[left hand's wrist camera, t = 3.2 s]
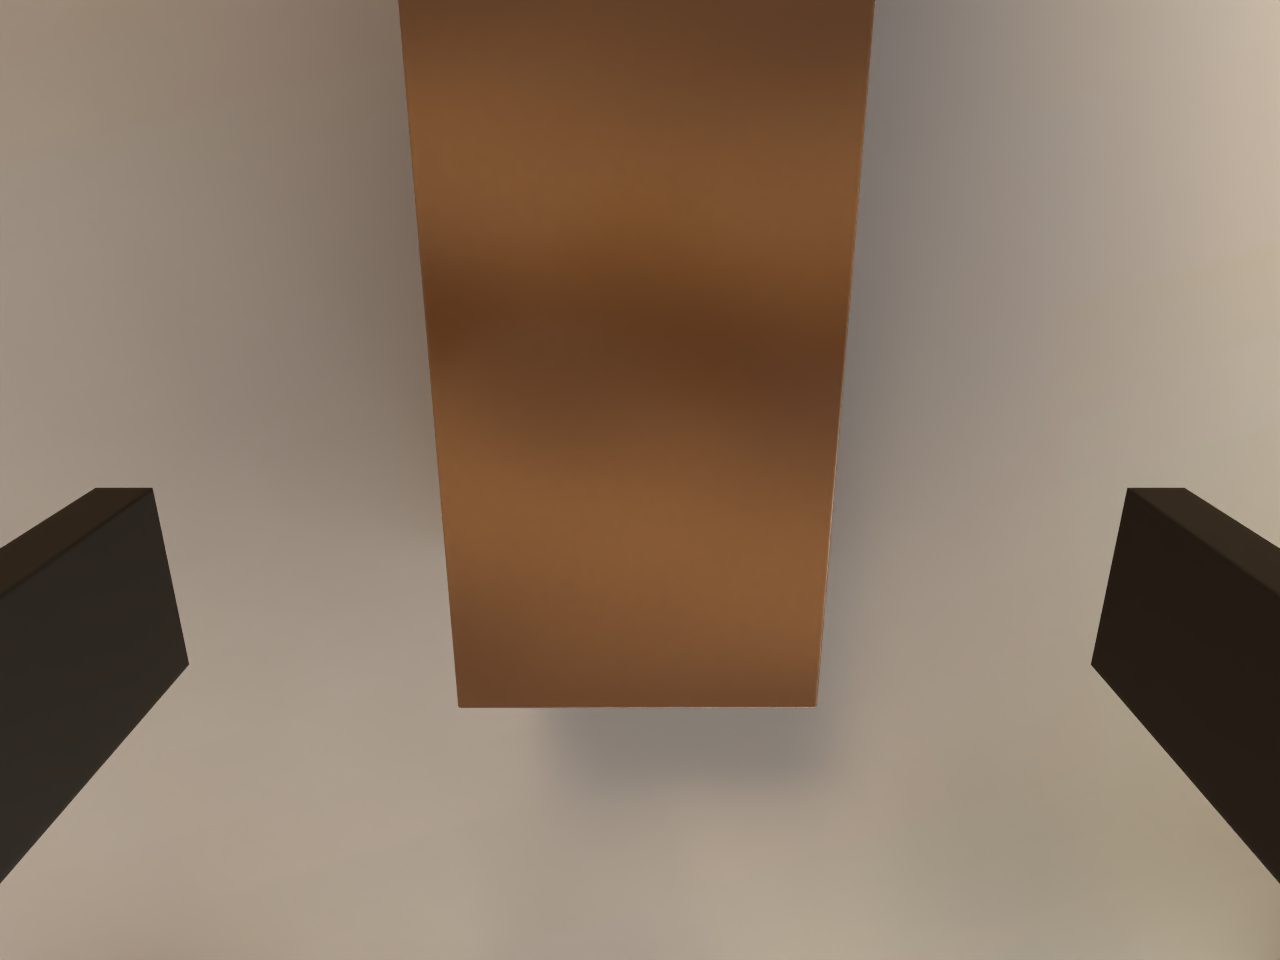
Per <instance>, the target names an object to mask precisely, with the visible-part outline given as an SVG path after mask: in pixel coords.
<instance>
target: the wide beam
mask: <svg viewBox="0 0 1280 960" xmlns="http://www.w3.org/2000/svg"><path fill="white" fill-rule="evenodd" d="M398 3H399V15H400V26H401V38H402V50H403V62H404V73H405V85H406V97H407V109H408V121H409V132H410V144H411V156H412V168H413V179H414V191H415V203H416V215H417V226H418V238H419V250H420V262H421V274H422V285H423V297H424V309H425V321H426V332H427V344H428V356H429V368H430V379H431V391H432V403H433V415H434V427H435V438H436V450H437V462H438V474H439V485H440V497H441V509H442V521H443V532H444V544H445V556H446V568H447V580H448V591H449V603H450V615H451V627H452V638H453V650H454V662H455V674H456V685H457V697H458V706H459V708H815V707H816V706H817V696H818V684H819V672H820V659H821V647H822V635H823V623H824V611H825V599H826V587H827V575H828V563H829V551H830V538H831V526H832V514H833V502H834V490H835V478H836V466H837V454H838V442H839V429H840V417H841V405H842V393H843V381H844V369H845V357H846V345H847V333H848V320H849V308H850V296H851V284H852V272H853V260H854V248H855V236H856V224H857V211H858V199H859V187H860V175H861V163H862V151H863V139H864V127H865V115H866V103H867V90H868V78H869V66H870V54H871V42H872V30H873V18H874V6H875V0H398Z"/></svg>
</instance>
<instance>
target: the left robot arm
mask: <svg viewBox="0 0 1280 960" xmlns="http://www.w3.org/2000/svg"><path fill="white" fill-rule="evenodd" d="M188 665H189V662H188V657H187V652H186V648H185V643H184V638H183V633H182V628H181V623H180V618H179V614H178V609H177V604H176V599H175V594H174V589H173V585H172V580H171V575H170V570H169V565H168V560H167V556H166V551H165V546H164V541H163V536H162V531H161V527H160V522H159V517H158V512H157V507H156V502H155V498H154V493H153V488H95V489H93V490H92V491H90V492H88V493H87V494H85V495H84V496H82V497H81V498H79V499H77V500H76V501H74V502H73V503H71V504H70V505H68V506H66V507H65V508H63V509H62V510H60V511H58V512H57V513H55V514H54V515H52V516H51V517H49V518H47V519H46V520H44V521H43V522H41V523H40V524H38V525H36V526H35V527H33V528H32V529H30V530H29V531H27V532H25V533H24V534H22V535H21V536H19V537H18V538H16V539H14V540H13V541H11V542H10V543H8V544H7V545H5V546H3V547H2V548H0V883H1V882H2V881H3V880H4V878H5V877H6V876H7V875H8V874H9V873H10V872H11V870H12V869H13V868H14V867H15V866H16V865H17V863H18V862H19V861H20V860H21V859H22V858H23V856H24V855H25V854H26V853H27V852H28V851H29V849H30V848H31V847H32V846H33V845H34V844H35V843H36V841H37V840H38V839H39V838H40V837H41V836H42V834H43V833H44V832H45V831H46V830H47V829H48V827H49V826H50V825H51V824H52V823H53V822H54V820H55V819H56V818H57V817H58V816H59V815H60V814H61V812H62V811H63V810H64V809H65V808H66V807H67V805H68V804H69V803H70V802H71V801H72V800H73V798H74V797H75V796H76V795H77V794H78V793H79V792H80V790H81V789H82V788H83V787H84V786H85V785H86V783H87V782H88V781H89V780H90V779H91V778H92V776H93V775H94V774H95V773H96V772H97V771H98V769H99V768H100V767H101V766H102V765H103V764H104V763H105V761H106V760H107V759H108V758H109V757H110V756H111V754H112V753H113V752H114V751H115V750H116V749H117V747H118V746H119V745H120V744H121V743H122V742H123V740H124V739H125V738H126V737H127V736H128V735H129V734H130V732H131V731H132V730H133V729H134V728H135V727H136V725H137V724H138V723H139V722H140V721H141V720H142V718H143V717H144V716H145V715H146V714H147V713H148V711H149V710H150V709H151V708H152V707H153V706H154V705H155V703H156V702H157V701H158V700H159V699H160V698H161V696H162V695H163V694H164V693H165V692H166V691H167V689H168V688H169V687H170V686H171V685H172V684H173V683H174V681H175V680H176V679H177V678H178V677H179V676H180V674H181V673H182V672H183V671H184V670H185V669H186V667H187V666H188ZM1091 665H1092V666H1093V667H1094V669H1095V670H1096V671H1097V672H1098V673H1099V674H1100V676H1101V677H1102V678H1103V679H1104V680H1105V681H1106V683H1107V684H1108V685H1109V686H1110V687H1111V688H1112V689H1113V691H1114V692H1115V693H1116V694H1117V695H1118V696H1119V698H1120V699H1121V700H1122V701H1123V702H1124V703H1125V705H1126V706H1127V707H1128V708H1129V709H1130V710H1131V711H1132V713H1133V714H1134V715H1135V716H1136V717H1137V718H1138V720H1139V721H1140V722H1141V723H1142V724H1143V725H1144V727H1145V728H1146V729H1147V730H1148V731H1149V732H1150V734H1151V735H1152V736H1153V737H1154V738H1155V739H1156V740H1157V742H1158V743H1159V744H1160V745H1161V746H1162V747H1163V749H1164V750H1165V751H1166V752H1167V753H1168V754H1169V756H1170V757H1171V758H1172V759H1173V760H1174V761H1175V763H1176V764H1177V765H1178V766H1179V767H1180V768H1181V769H1182V771H1183V772H1184V773H1185V774H1186V775H1187V776H1188V778H1189V779H1190V780H1191V781H1192V782H1193V783H1194V785H1195V786H1196V787H1197V788H1198V789H1199V790H1200V792H1201V793H1202V794H1203V795H1204V796H1205V797H1206V798H1207V800H1208V801H1209V802H1210V803H1211V804H1212V805H1213V807H1214V808H1215V809H1216V810H1217V811H1218V812H1219V814H1220V815H1221V816H1222V817H1223V818H1224V819H1225V820H1226V822H1227V823H1228V824H1229V825H1230V826H1231V827H1232V829H1233V830H1234V831H1235V832H1236V833H1237V834H1238V836H1239V837H1240V838H1241V839H1242V840H1243V841H1244V843H1245V844H1246V845H1247V846H1248V847H1249V848H1250V849H1251V851H1252V852H1253V853H1254V854H1255V855H1256V856H1257V858H1258V859H1259V860H1260V861H1261V862H1262V863H1263V865H1264V866H1265V867H1266V868H1267V869H1268V870H1269V872H1270V873H1271V874H1272V875H1273V876H1274V877H1275V878H1276V880H1277V881H1278V882H1279V883H1280V548H1278V547H1277V546H1275V545H1273V544H1272V543H1270V542H1269V541H1267V540H1266V539H1264V538H1262V537H1261V536H1259V535H1258V534H1256V533H1255V532H1253V531H1251V530H1250V529H1248V528H1247V527H1245V526H1244V525H1242V524H1240V523H1239V522H1237V521H1236V520H1234V519H1233V518H1231V517H1229V516H1228V515H1226V514H1225V513H1223V512H1222V511H1220V510H1218V509H1217V508H1215V507H1214V506H1212V505H1210V504H1209V503H1207V502H1206V501H1204V500H1203V499H1201V498H1199V497H1198V496H1196V495H1195V494H1193V493H1192V492H1190V491H1188V490H1187V489H1185V488H1127V493H1126V498H1125V502H1124V507H1123V512H1122V517H1121V522H1120V527H1119V531H1118V536H1117V541H1116V546H1115V551H1114V556H1113V560H1112V565H1111V570H1110V575H1109V580H1108V585H1107V589H1106V594H1105V599H1104V604H1103V609H1102V614H1101V618H1100V623H1099V628H1098V633H1097V638H1096V643H1095V647H1094V652H1093V657H1092V662H1091Z"/></svg>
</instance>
